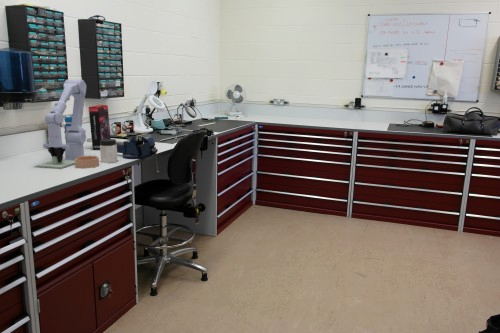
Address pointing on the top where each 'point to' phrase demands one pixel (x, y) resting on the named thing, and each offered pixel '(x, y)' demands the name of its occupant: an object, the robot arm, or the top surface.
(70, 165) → the mat
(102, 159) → the jar
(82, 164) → the bowl
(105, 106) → the graphics card box
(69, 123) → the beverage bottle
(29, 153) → the top surface
